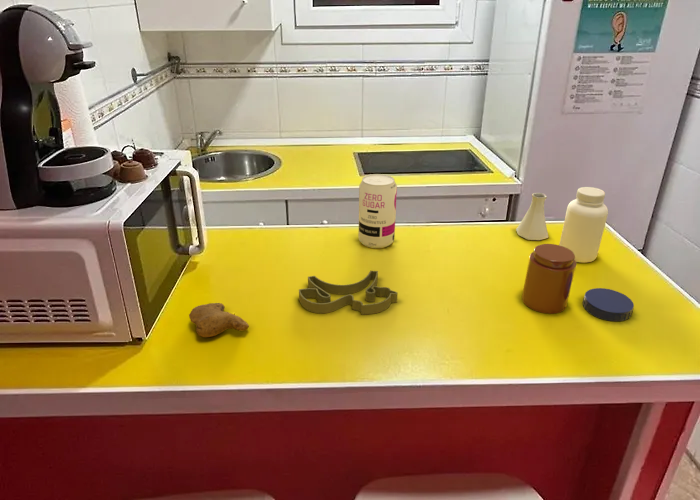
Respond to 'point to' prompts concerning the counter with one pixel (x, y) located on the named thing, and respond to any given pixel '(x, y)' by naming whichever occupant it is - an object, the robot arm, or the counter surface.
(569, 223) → the pill bottle
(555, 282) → the jam jar
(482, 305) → the counter surface
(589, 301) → the jam lid
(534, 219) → the flask
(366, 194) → the supplement can
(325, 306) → the cookie cutter
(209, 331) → the brown irregular lump
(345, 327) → the counter surface
